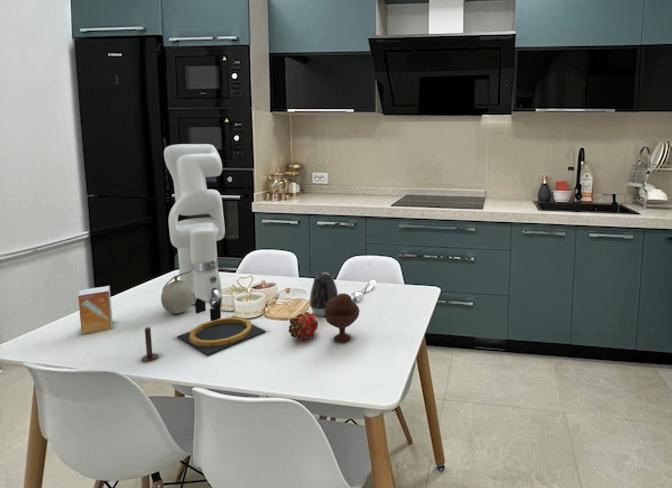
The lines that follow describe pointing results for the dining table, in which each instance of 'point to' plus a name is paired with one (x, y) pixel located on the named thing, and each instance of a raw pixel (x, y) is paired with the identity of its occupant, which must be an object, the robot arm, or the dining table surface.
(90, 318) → the small box
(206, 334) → the mat
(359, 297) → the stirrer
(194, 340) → the ring
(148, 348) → the post
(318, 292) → the dark grey tall dome
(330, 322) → the ice cream bowl
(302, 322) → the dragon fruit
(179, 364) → the dining table surface
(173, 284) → the fruit
